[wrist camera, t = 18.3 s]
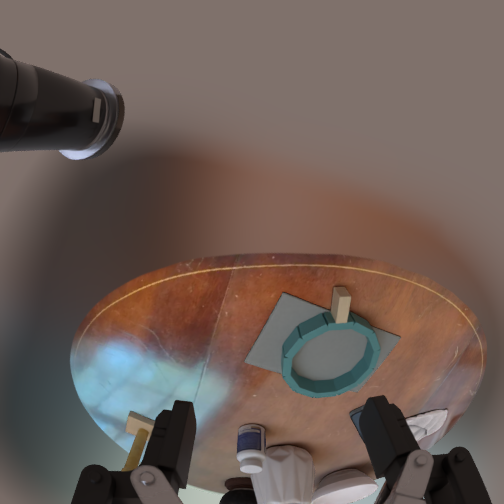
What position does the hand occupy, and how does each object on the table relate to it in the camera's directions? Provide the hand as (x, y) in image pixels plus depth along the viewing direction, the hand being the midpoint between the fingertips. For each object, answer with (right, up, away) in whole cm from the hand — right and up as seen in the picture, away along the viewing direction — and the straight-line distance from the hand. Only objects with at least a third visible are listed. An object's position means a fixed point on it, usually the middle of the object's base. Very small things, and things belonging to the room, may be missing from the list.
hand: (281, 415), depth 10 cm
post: (-25, -31, +36) cm, 53 cm away
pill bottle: (-1, -28, +35) cm, 45 cm away
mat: (+10, -8, +28) cm, 31 cm away
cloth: (+39, -38, +37) cm, 66 cm away
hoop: (+10, -6, +27) cm, 30 cm away
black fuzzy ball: (-3, -58, +44) cm, 73 cm away
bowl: (+24, -58, +44) cm, 76 cm away
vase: (+5, -39, +38) cm, 55 cm away
